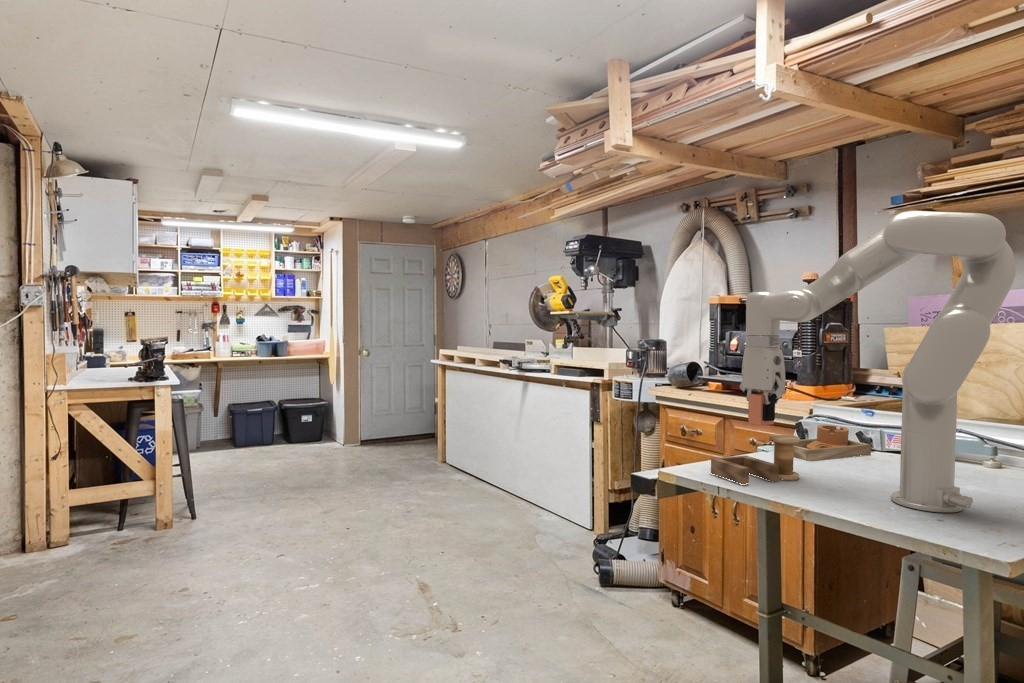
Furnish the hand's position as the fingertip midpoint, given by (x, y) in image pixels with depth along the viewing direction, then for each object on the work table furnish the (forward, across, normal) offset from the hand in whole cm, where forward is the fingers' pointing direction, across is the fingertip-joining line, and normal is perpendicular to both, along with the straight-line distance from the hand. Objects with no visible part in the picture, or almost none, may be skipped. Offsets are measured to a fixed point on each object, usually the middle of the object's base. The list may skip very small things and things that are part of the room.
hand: (761, 418), depth 147 cm
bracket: (+16, +19, -42) cm, 49 cm away
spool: (+15, +1, -8) cm, 17 cm away
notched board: (+15, +3, +2) cm, 16 cm away
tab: (+1, 0, 0) cm, 1 cm away
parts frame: (+15, +18, -40) cm, 46 cm away
